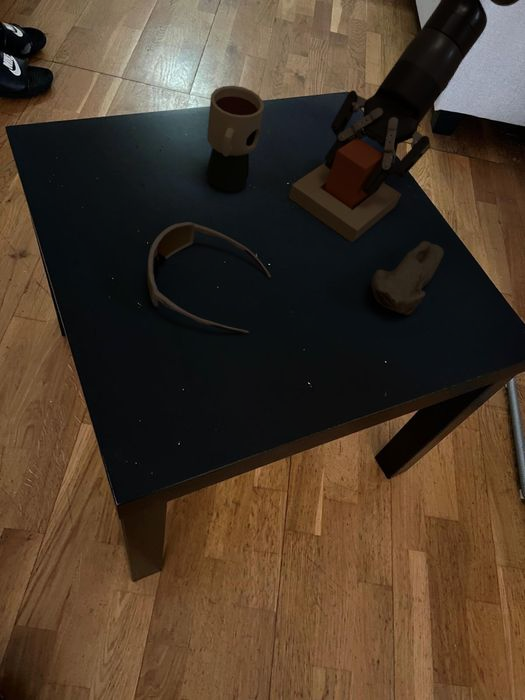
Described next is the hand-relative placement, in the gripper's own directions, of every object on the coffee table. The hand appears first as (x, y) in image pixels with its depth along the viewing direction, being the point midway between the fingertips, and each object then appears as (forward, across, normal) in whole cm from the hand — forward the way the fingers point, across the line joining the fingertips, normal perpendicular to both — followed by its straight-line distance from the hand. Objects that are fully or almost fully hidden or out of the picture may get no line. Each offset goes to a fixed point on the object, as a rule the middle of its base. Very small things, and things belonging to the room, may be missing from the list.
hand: (346, 179), depth 78 cm
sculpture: (+8, +16, 0) cm, 17 cm away
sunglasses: (+22, -2, -15) cm, 27 cm away
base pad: (+2, 0, +5) cm, 5 cm away
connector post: (+2, 0, +5) cm, 5 cm away
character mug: (+10, -15, -3) cm, 18 cm away
